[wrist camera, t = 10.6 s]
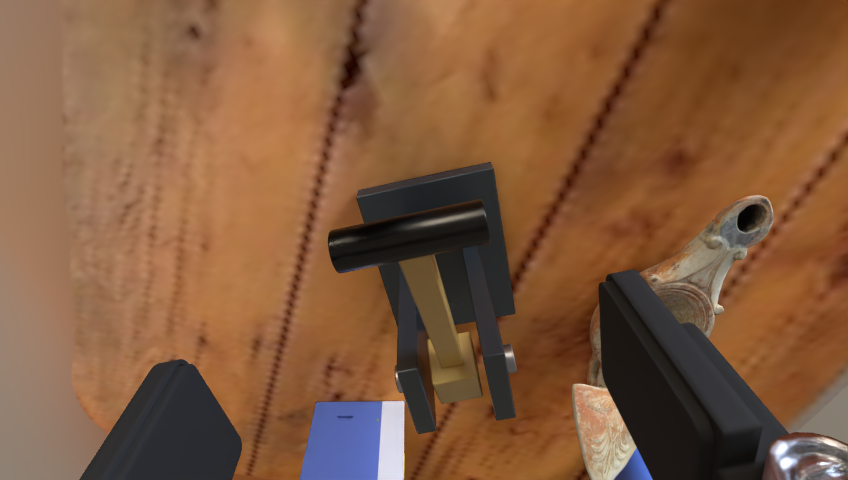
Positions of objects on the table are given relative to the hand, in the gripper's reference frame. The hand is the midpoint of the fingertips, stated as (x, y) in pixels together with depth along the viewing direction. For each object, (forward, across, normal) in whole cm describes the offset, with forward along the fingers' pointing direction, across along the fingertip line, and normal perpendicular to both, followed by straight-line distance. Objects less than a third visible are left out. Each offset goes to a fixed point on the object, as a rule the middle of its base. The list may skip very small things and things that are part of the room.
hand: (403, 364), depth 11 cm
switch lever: (+9, 0, +5) cm, 10 cm away
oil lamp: (+21, -15, +17) cm, 31 cm away
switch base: (+21, 0, +10) cm, 23 cm away
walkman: (+21, +10, +24) cm, 34 cm away
